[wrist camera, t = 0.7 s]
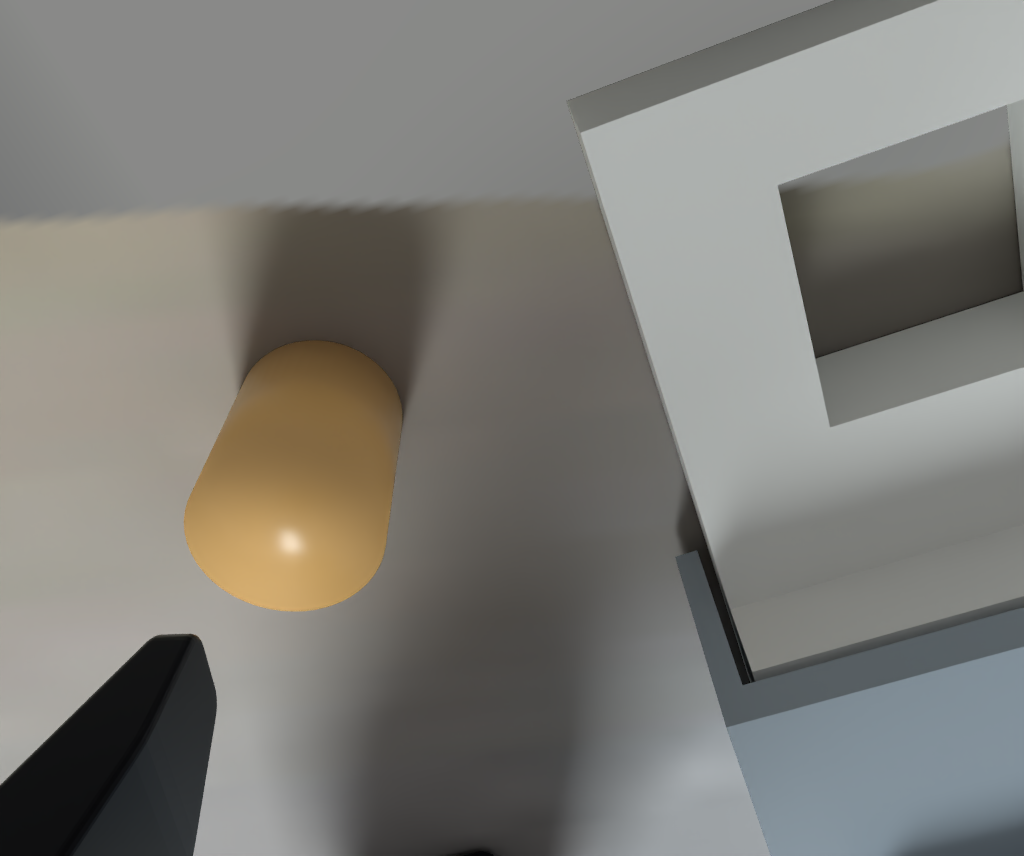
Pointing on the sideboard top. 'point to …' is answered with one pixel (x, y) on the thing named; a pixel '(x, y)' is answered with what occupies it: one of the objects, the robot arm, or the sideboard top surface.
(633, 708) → the sideboard top surface
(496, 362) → the sideboard top surface
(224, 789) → the sideboard top surface
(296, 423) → the rounded peg
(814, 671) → the cabinet
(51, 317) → the sideboard top surface
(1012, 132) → the housing
